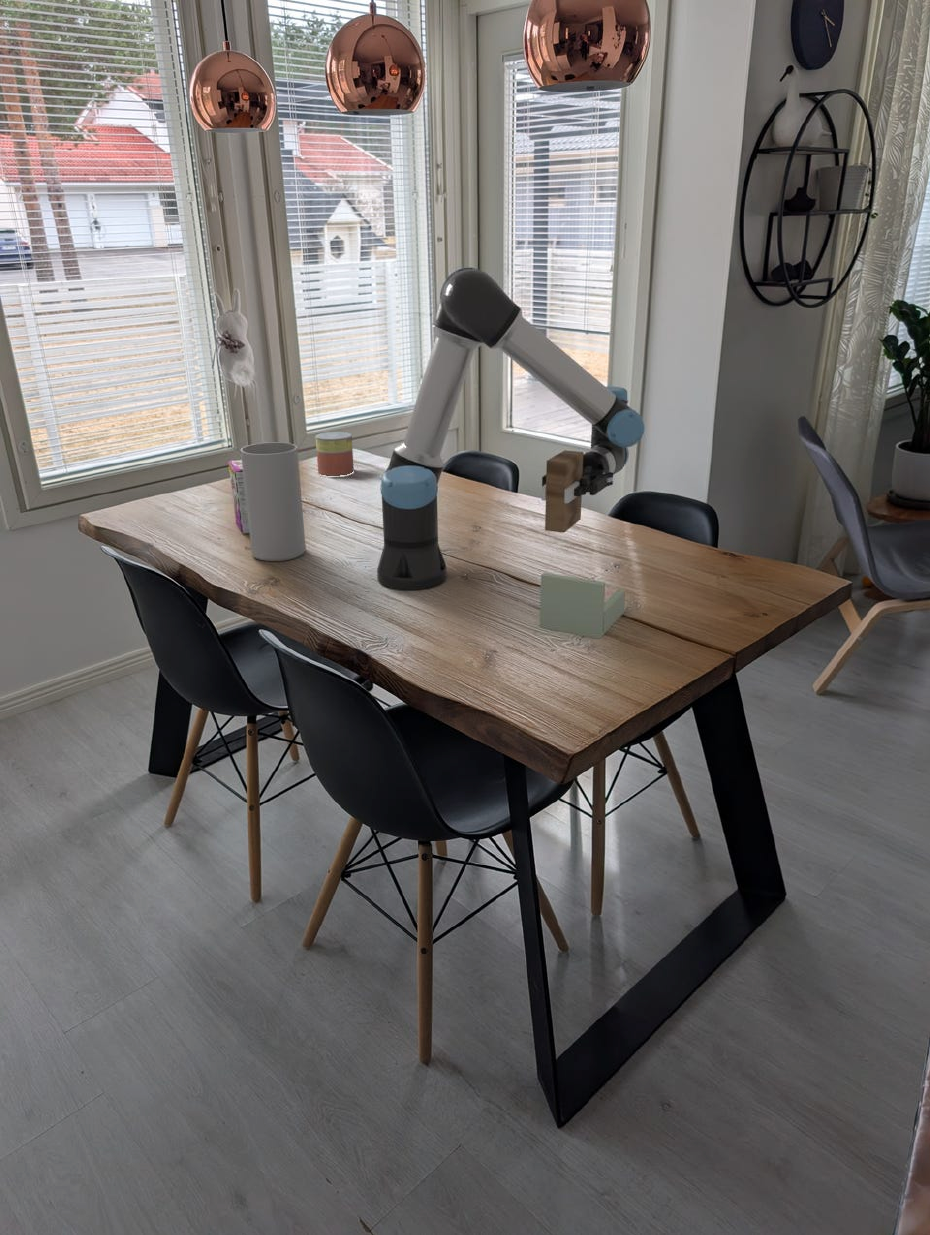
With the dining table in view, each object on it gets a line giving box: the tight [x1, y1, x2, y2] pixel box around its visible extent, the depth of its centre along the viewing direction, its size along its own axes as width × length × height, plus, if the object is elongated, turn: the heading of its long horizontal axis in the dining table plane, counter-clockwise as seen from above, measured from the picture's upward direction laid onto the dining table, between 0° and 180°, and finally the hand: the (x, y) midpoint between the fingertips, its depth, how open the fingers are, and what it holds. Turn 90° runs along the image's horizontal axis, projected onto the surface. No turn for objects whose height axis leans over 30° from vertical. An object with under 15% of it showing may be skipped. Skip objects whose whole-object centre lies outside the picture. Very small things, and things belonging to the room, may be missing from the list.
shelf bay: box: [539, 572, 628, 640], centre depth 174 cm, size 16×12×11 cm
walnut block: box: [544, 449, 584, 533], centre depth 181 cm, size 10×4×14 cm, turn 154°
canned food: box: [314, 431, 355, 476], centre depth 282 cm, size 11×11×12 cm
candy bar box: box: [228, 459, 250, 535], centre depth 229 cm, size 11×5×16 cm, turn 22°
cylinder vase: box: [240, 441, 307, 562], centre depth 209 cm, size 12×12×25 cm
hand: (554, 495), depth 176 cm, fingers closed on walnut block, 4 cm apart
